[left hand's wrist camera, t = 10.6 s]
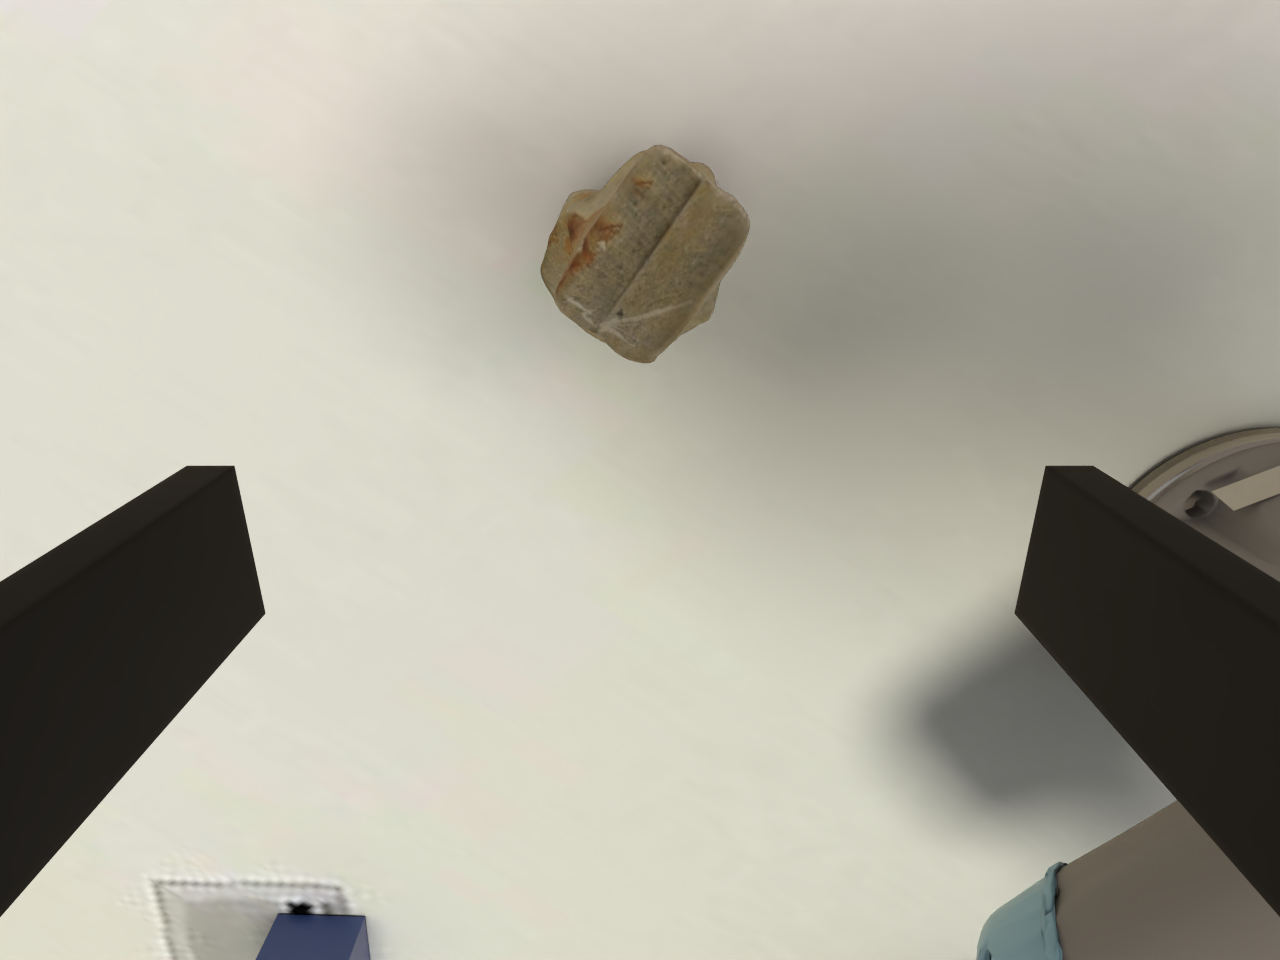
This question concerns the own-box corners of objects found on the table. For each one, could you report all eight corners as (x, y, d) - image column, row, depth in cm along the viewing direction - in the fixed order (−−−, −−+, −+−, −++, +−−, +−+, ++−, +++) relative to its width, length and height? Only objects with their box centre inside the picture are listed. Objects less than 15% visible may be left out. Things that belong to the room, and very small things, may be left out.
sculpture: (739, 225, 33) (816, 258, 19) (630, 349, 35) (626, 463, 21) (638, 127, 31) (640, 83, 17) (530, 262, 33) (453, 322, 19)
